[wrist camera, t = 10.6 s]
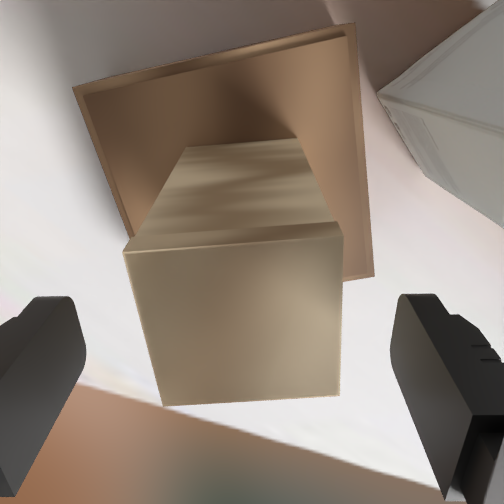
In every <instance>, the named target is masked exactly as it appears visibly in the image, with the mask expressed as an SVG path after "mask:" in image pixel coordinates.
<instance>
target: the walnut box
mask: <svg viewBox="0 0 504 504" xmlns="http://www.w3.org/2000/svg"><path fill="white" fill-rule="evenodd" d="M72 89H73V92H74V94H75V97H76V99H77V102H78V105H79V107H80V110H81V113H82V115H83V118H84V120H85V123H86V126H87V128H88V131H89V133H90V136H91V139H92V141H93V144H94V147H95V149H96V152H97V154H98V157H99V160H100V162H101V165H102V168H103V170H104V173H105V175H106V178H107V181H108V183H109V186H110V188H111V191H112V194H113V196H114V199H115V202H116V204H117V207H118V209H119V212H120V215H121V217H122V220H123V223H124V225H125V228H126V230H127V233H128V236H129V238H131V237H135V235H136V234H137V232H138V230H139V228H140V227H141V225H142V223H143V221H144V220H145V218H146V216H147V214H148V213H149V211H150V209H151V207H152V206H153V204H154V202H155V200H156V199H157V197H158V195H159V193H160V192H161V190H162V188H163V186H164V185H165V183H166V181H167V179H168V178H169V176H170V174H171V172H172V171H173V169H174V167H175V165H176V164H177V162H178V160H179V158H180V157H181V155H182V153H183V151H184V150H185V148H186V147H196V146H208V145H220V144H232V143H244V142H256V141H268V140H280V139H292V138H298V140H299V142H300V144H301V147H302V149H303V151H304V154H305V156H306V158H307V160H308V163H309V165H310V167H311V169H312V172H313V174H314V176H315V178H316V181H317V183H318V185H319V188H320V190H321V192H322V194H323V197H324V199H325V201H326V203H327V206H328V208H329V210H330V213H331V215H332V217H333V219H334V221H337V222H338V224H339V226H340V228H341V230H342V233H343V235H344V249H343V282H345V281H351V280H357V279H363V278H369V277H375V275H374V262H373V249H372V235H371V222H370V209H369V196H368V183H367V170H366V157H365V144H364V131H363V118H362V105H361V91H360V78H359V65H358V52H357V39H356V26H355V23H348V24H340V25H334V26H330V27H325V28H321V29H317V30H312V31H308V32H304V33H299V34H295V35H290V36H286V37H282V38H277V39H273V40H269V41H264V42H260V43H256V44H251V45H247V46H243V47H238V48H234V49H229V50H225V51H221V52H216V53H212V54H208V55H203V56H199V57H195V58H190V59H186V60H182V61H177V62H173V63H169V64H164V65H160V66H155V67H151V68H147V69H142V70H138V71H134V72H129V73H125V74H121V75H116V76H112V77H108V78H104V79H100V80H97V81H93V82H89V83H86V84H82V85H79V86H75V87H72Z"/></svg>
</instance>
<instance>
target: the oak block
mask: <svg viewBox="0 0 504 504" xmlns="http://www.w3.org/2000/svg"><path fill="white" fill-rule="evenodd" d="M343 249H344V235H343V233H342V230H341V228H340V226H339V224H338V222H337V221H334V219H333V217H332V215H331V213H330V210H329V208H328V206H327V203H326V201H325V199H324V197H323V194H322V192H321V190H320V188H319V185H318V183H317V181H316V178H315V176H314V174H313V172H312V169H311V167H310V165H309V163H308V160H307V158H306V156H305V154H304V151H303V149H302V147H301V144H300V142H299V140H298V138H292V139H280V140H268V141H256V142H244V143H232V144H220V145H208V146H196V147H186V148H185V150H184V151H183V153H182V155H181V157H180V158H179V160H178V162H177V164H176V165H175V167H174V169H173V171H172V172H171V174H170V176H169V178H168V179H167V181H166V183H165V185H164V186H163V188H162V190H161V192H160V193H159V195H158V197H157V199H156V200H155V202H154V204H153V206H152V207H151V209H150V211H149V213H148V214H147V216H146V218H145V220H144V221H143V223H142V225H141V227H140V228H139V230H138V232H137V234H136V235H135V237H131V238H130V240H129V242H128V243H127V245H126V247H125V248H124V250H123V252H122V253H123V257H124V260H125V264H126V268H127V272H128V276H129V279H130V283H131V287H132V291H133V295H134V298H135V302H136V306H137V310H138V314H139V317H140V321H141V325H142V329H143V333H144V336H145V340H146V344H147V348H148V352H149V355H150V359H151V363H152V367H153V370H154V374H155V378H156V382H157V386H158V389H159V393H160V397H161V401H162V405H163V407H164V406H180V405H197V404H214V403H231V402H247V401H264V400H281V399H298V398H314V397H331V396H340V365H341V326H342V288H343Z"/></svg>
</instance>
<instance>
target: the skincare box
mask: <svg viewBox="0 0 504 504" xmlns="http://www.w3.org/2000/svg"><path fill="white" fill-rule="evenodd" d="M377 96H378V98H379V100H380V102H381V104H382V105H383V107H384V109H385V110H386V112H387V114H388V115H389V117H390V119H391V121H392V122H393V124H394V126H395V127H396V129H397V131H398V132H399V134H400V136H401V137H402V139H403V141H404V142H405V144H406V146H407V147H408V149H409V151H410V152H411V154H412V155H413V157H414V159H415V160H416V162H417V164H418V165H419V167H420V169H421V170H422V172H423V174H424V175H425V176H426V177H427V178H429V179H430V180H432V181H433V182H435V183H436V184H437V185H439V186H440V187H442V188H443V189H445V190H446V191H448V192H449V193H451V194H452V195H454V196H455V197H457V198H458V199H460V200H461V201H463V202H465V203H466V204H468V205H469V206H471V207H472V208H474V209H475V210H477V211H478V212H480V213H481V214H483V215H484V216H486V217H487V218H489V219H490V220H492V221H493V222H495V223H496V224H498V225H499V226H501V227H502V228H503V229H504V0H498V1H497V2H495V3H494V4H492V5H491V6H490V7H488V8H487V9H486V10H484V11H483V12H482V13H481V14H479V15H478V16H477V17H475V18H474V19H472V20H471V21H470V22H468V23H467V24H466V25H464V26H463V27H462V28H460V29H459V30H458V31H456V32H455V33H454V34H452V35H451V36H450V37H448V38H447V39H446V40H444V41H443V42H442V43H440V44H439V45H438V46H436V47H435V48H434V49H433V50H431V51H430V52H429V53H427V54H426V55H425V56H423V57H422V58H421V59H419V60H418V61H417V62H416V63H415V64H413V65H412V66H411V67H410V68H409V69H407V70H406V71H405V72H404V73H403V74H401V75H400V76H399V77H398V78H396V79H395V80H393V81H392V82H391V83H389V84H388V85H386V86H385V87H383V88H382V89H381V90H379V91H378V92H377Z"/></svg>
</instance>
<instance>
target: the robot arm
mask: <svg viewBox="0 0 504 504" xmlns="http://www.w3.org/2000/svg"><path fill="white" fill-rule="evenodd" d="M390 357H391V364H392V368H393V371H394V374H395V376H396V379H397V381H398V384H399V386H400V389H401V391H402V394H403V396H404V399H405V401H406V404H407V406H408V409H409V411H410V414H411V417H412V419H413V422H414V424H415V427H416V429H417V432H418V434H419V437H420V439H421V442H422V444H423V447H424V449H425V452H426V454H427V457H428V459H429V462H430V465H431V467H432V470H433V472H434V475H435V477H436V480H437V482H438V485H439V487H440V490H441V492H442V495H443V497H444V500H445V501H466V502H467V504H504V363H502V362H501V358H500V357H499V355H498V354H497V353H496V351H495V350H494V349H493V348H491V345H490V343H489V342H488V341H487V339H486V338H485V337H484V335H483V334H482V333H481V331H480V330H479V329H478V328H477V327H476V326H474V325H473V324H471V323H470V322H469V321H467V320H466V319H464V318H463V317H462V316H460V315H450V314H449V313H448V311H447V310H446V308H445V307H444V305H443V304H442V303H441V301H440V300H439V298H438V297H437V296H436V295H435V294H401V295H400V297H399V299H398V303H397V309H396V314H395V320H394V326H393V332H392V338H391V344H390ZM85 361H86V345H85V341H84V337H83V334H82V330H81V326H80V323H79V319H78V315H77V312H76V308H75V305H74V302H73V300H72V299H71V298H70V297H68V296H49V297H35V298H34V299H33V300H32V301H31V302H30V303H29V304H28V305H27V306H26V308H25V309H24V310H23V311H22V312H21V313H20V314H19V316H18V317H13V318H11V319H10V320H8V321H7V322H5V323H4V324H2V325H1V326H0V497H15V496H16V494H17V492H18V490H19V488H20V486H21V485H22V483H23V481H24V479H25V477H26V475H27V473H28V471H29V470H30V468H31V466H32V464H33V462H34V460H35V458H36V457H37V455H38V453H39V451H40V449H41V447H42V445H43V444H44V441H45V440H46V438H47V436H48V434H49V432H50V430H51V429H52V427H53V425H54V423H55V421H56V419H57V417H58V416H59V413H60V412H61V410H62V408H63V406H64V404H65V402H66V401H67V399H68V397H69V395H70V393H71V391H72V389H73V388H74V386H75V384H76V382H77V380H78V378H79V376H80V374H81V373H82V371H83V368H84V365H85Z"/></svg>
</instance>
